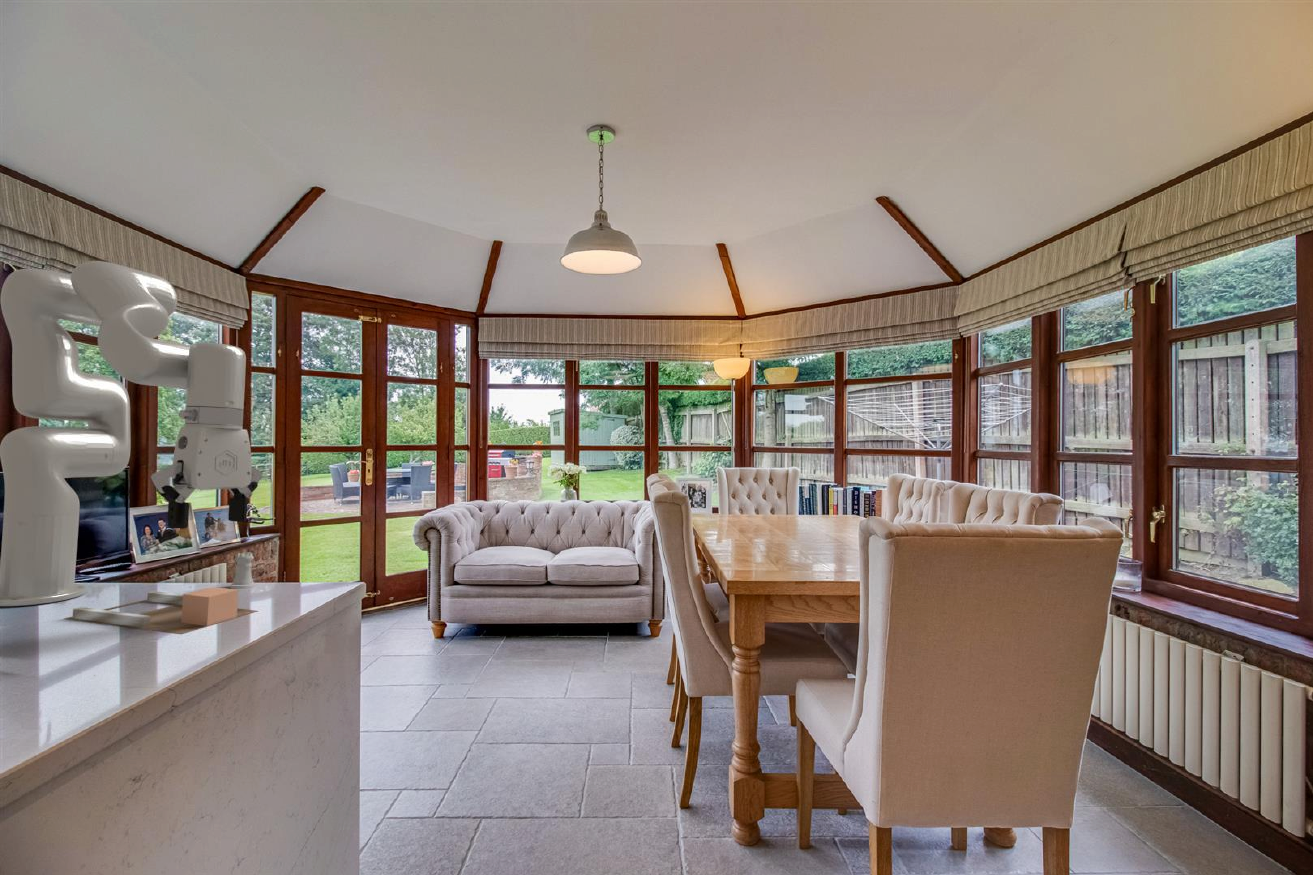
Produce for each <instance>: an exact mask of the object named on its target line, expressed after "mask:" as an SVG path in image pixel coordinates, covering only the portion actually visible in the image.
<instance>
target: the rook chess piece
mask: <svg viewBox="0 0 1313 875" xmlns="http://www.w3.org/2000/svg"><path fill="white" fill-rule="evenodd" d="M254 558H255V556H254V555H253V552H250V551H249V552H248V551H247V552H246V553H245V552H241V553H240V552H237V553H236V556H235V558H234V561H235V562H236V565H235V568H236V569H235V570H236V571H235V575H234V579H233V581H232V583H231V585H256V586H257V584H256V583H255V582H254V579H253V575H252V567H253V564H252V561H253V560H254ZM253 587H255V586H229V588H228V589H235V590H239V589H240V590H241V589H249V588H253Z"/></svg>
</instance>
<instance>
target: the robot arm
mask: <svg viewBox="0 0 1313 875" xmlns="http://www.w3.org/2000/svg"><path fill="white" fill-rule="evenodd" d="M0 306H1V307H0V308H1V313H2V316H3V319H4V322H5V325H6V327H7V330H8V333H9V337H10V340H11V347H12V354H11V355H12V356H11V358H12V360H11V363H12V364H11V366H12V368H11V369H12V370H11V371H12V372H11V376H12V381H11V382H12V384H11V385H12V401H13V405H14V409H16V411H17V412H18V413H19V414H20V415H22V416H25V417H27V418H31V419H40V420H49V421H50V420H51V421H52V420H54V421H70V422H71V421H73V422H86V424H87V427H88V428H87V427H70V426H50V425H48V426H46V425H45V426H44V425H43V426H41V425H40V426H26V427H21V428H17V429H15V430H12V431H10V432H8V433H7V434H6V435H5V436H4V437H3V439H2V440H1V442H0V462H1V463H0V464H1V468H2V472H3V481H4V503H3V504H4V505H3V520H2V521H3V523H2V538H1V539H2V540H1V552H0V607H20V606H21V607H22V606H34V605H40V604H41V605H42V604H50V603H56V602H60V601H61V602H62V601H65V600H70V599H75V598H77V597H80V596H82V595H84V594H85V593H86V586H85V585H83V584H78V583H75V581H76V580H75V579H76V564H77V555H78V554H77V552H78V539H79V538H78V537H79V525H80V524H79V522H80V508H81V506H80V498H79V496H78V494H77V493H76V491H75V490H74V489H73V487H71V486H70V485H69V483H68V482H67V480H65V479H68V478H69V479H70V478H97V477H110V476H115V475H119V474H120V473H121V472H123V471H124V470H125V469H126V467H128V464H129V462H130V458H131V401H130V396H129V392H128V390H127V388H126V386H125V385H124V383H123V382H121V381H120V380H118V379H117V378H115V377H112V376H109V375H106V374H105V375H103V374H100V373H99V374H98V373H97V374H96V373H89V372H83V371H82V370H81V369H80V362H79V359H80V358H79V356H80V353H79V347H78V345H77V343H76V341H75V340H74V339H73V337H72V336H71V334H69V332H68V331H67V330H66V329H65V328H64V327H63V326H62V325H61V324H60V323H59V322H58V321H57V320H62V321H67V322H72V323H77V324H84V325H89V326H94V327H99V328H98V331H97V346H98V350H99V353H100V355H101V356H102V358H103V359H104V360H105V362H106V363H107V364H108V365H109V366H110V367H111V368H112V369H113V371H115V373H117V374H118V375H119V376H120V377H122V378H123V379H124V380H127V381H129V382H132V383H133V384H137V385H138V384H139V385H142V386H143V385H145V386H152V387H153V386H155V387H159V388H160V387H163V388H171V389H172V388H173V389H179V390H185V391H186V393H185V408H184V409H182V410H179V412H178V417H179V418H180V419H182V420H183V419H184V426H181V427H180V429H179V432H178V434H177V437H176V442H175V447H174V452H173V459H172V464H171V465H169V466H166V467H164V468H163V469H160V470H158V471H156V472H154V473H151V475H150V479H151V480H152V482H153V485H154V486H155V487H156V488H155V489H156V492H157V493H158V494H159V495H160V496H161V497H162V498H163V502H166V503H168V504H167V527H168V528H169V529H180V530H183V529H184V530H185V529H187V528H188V527H189V519H190V518H189V516H190V504H189V503H190V502H186V500H187V499H188V498H189V497H190V496H191V495H192V493H193V492H194V491H195V490H200V491H205V490H207V491H208V490H209V491H211V490H226V489H227V490H228V491H229V492H230V494H231V495H232V496H233V497H229V501H228V518H227V519H228V521H230V522H237V523H238V522H240V523H241V522H242V523H244V522H246V521H247V519H248V518H247V516H248V499H250V498H251V497H252V496H253V492H254V491H255V490H256V489H257V488H258V486H259V484H258V483H259V482H260V481H261V479H262V476H263V475H264V474H263V472H262V471H261V470H259V469H257V467H253V466H252V450H251V443H250V437H249V433H248V429H243V424H244V422H243V421H244V408H245V406H244V403H245V389H246V388H245V386H246V367H247V366H246V365H247V364H246V363H247V362H246V361H247V356H246V353H245V351H244V350H243V349H242V348H240V347H239V346H235V345H232V344H224V343H219V342H218V343H217V342H195V343H193V344H192V345H190V344H185V343H181V342H175V341H174V342H173V341H171V340H164V339H158V338H157V337H159V336H160V335H161V334H162V333H164V332H165V330H166V329H167V327H168V325H169V322H170V321H169V317H170V316H172V315H173V313H174V312H175V310H176V308H177V306H178V295H177V291H176V290H175V288H174V286H173V285H172V284H171V283H170V282H169V281H168V280H167V279H165V278H164V277H163V276H160V275H157V274H154V273H150V272H147V271H143V270H139V269H135V268H132V267H129V266H125V265H122V264H117V263H113V262H110V261H102V260H90V261H87V262H83V263H80V264H79V265H77V266H76V267H75V268H74V269H73V270H72V272H71V274H68V273H63V272H61V271H56V270H50V269H44V268H43V269H41V268H21V269H17V270H14V271H13V272H11V273H10V274H8V276H7V277H6V278H5V280H4V283H3V284H2V287H1V291H0ZM155 338H156V339H155ZM170 479H171V481H172V483H171V484H172V485H173V486H171V485H170V482H169V480H170Z"/></svg>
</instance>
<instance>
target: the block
mask: <svg viewBox="0 0 1313 875" xmlns="http://www.w3.org/2000/svg"><path fill="white" fill-rule="evenodd" d="M238 601H239V589H232V588H225V587H215V586H213V587H208V588H204V589H200V590H195V591H191V592H187V593H183V606H182V622H181V623H188V624H195V625H203V626H208V627H210V626H209V625H211V626H213V625H212V624H214V625H217V624H216V623H218V624H220V623H219V622H221V623H223V622H222V621H224V622H227V621H226V620H228V621H230V620H229V619H231V620H233V619H232V618H234V619H237V618H236V617H237V608H238Z"/></svg>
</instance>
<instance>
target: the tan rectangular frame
mask: <svg viewBox="0 0 1313 875" xmlns="http://www.w3.org/2000/svg"><path fill="white" fill-rule="evenodd" d="M183 594H184V593H183ZM183 594H182V593H172V592H162V591H156V590H154V591H150V592H149V591H148V592H147V599H144V600H143V599H142V600H140V601H139V600H138V601H135V602H129V603H126V604H122V605H121V604H120V605H118V606H112V607H109V608H105V609H98V608H89V607H82V606H79V607H75V608H72V616H69V617H64V618H63V619H64V620H72V621H75V622H77V621H79V622H83V623H91V624H92V623H93V624H101V625H106V626H107V625H108V626H113V627H115V626H116V627H124V628H130V629H138V630H146V631H152V632H153V631H154V632H161V633H169V634H177V635H184V634H187V633H191V632H194V631H198V630H200V629H201V630H202V629H204V628H208V627H211V626H213V625H217V624H220V623H223V622H228V621H231V620H234V619H237V618H240V617H244V616H247V615H250V614H254V613H256V612H259V610H255V609H254V610H253V609H246V608H245V609H244V608H238V607H237V617H236V618H232V619H229V620H226V621H222V622H219V623H216V624H212V625H209V626H203V625H195V624H188V623H181V622H182V606H183ZM143 603H149V604H157V605H165V607H162V608H158V609H153V610H150V611H149V610H148V611H145V612H142V613H130V612H121V611H115V610H116V609H120V608H124V607H128V606H133V605H137V604H143ZM167 605H168V606H167ZM113 610H114V611H113Z"/></svg>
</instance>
